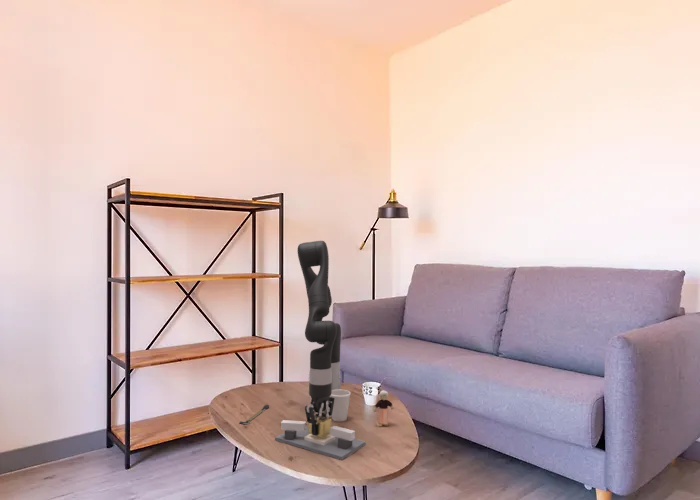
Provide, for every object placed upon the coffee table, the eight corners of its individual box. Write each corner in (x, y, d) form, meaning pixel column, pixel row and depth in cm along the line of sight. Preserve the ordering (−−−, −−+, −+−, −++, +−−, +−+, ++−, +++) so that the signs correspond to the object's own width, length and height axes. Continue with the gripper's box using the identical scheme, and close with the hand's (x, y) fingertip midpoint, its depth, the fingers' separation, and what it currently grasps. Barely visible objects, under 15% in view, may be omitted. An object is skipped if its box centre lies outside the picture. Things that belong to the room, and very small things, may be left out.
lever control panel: (275, 440, 158) (275, 421, 158) (301, 427, 169) (301, 410, 169) (341, 460, 143) (342, 439, 143) (365, 444, 155) (365, 425, 155)
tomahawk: (254, 429, 170) (254, 426, 170) (238, 425, 172) (238, 422, 172) (279, 409, 190) (280, 407, 190) (264, 406, 192) (265, 403, 192)
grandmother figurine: (377, 428, 169) (377, 393, 169) (372, 424, 173) (372, 390, 173) (395, 424, 173) (395, 390, 173) (389, 421, 176) (390, 387, 176)
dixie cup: (325, 416, 181) (326, 390, 181) (346, 414, 184) (346, 388, 184) (331, 423, 173) (332, 396, 173) (353, 421, 176) (353, 394, 176)
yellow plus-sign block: (331, 433, 156) (331, 417, 157) (323, 437, 153) (323, 421, 153) (316, 429, 160) (316, 413, 160) (308, 433, 156) (308, 417, 156)
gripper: (316, 387, 148) (315, 442, 148) (341, 377, 160) (341, 428, 160) (297, 384, 152) (297, 436, 152) (323, 374, 164) (323, 423, 164)
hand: (319, 432), depth 156 cm, fingers closed on yellow plus-sign block, 4 cm apart
